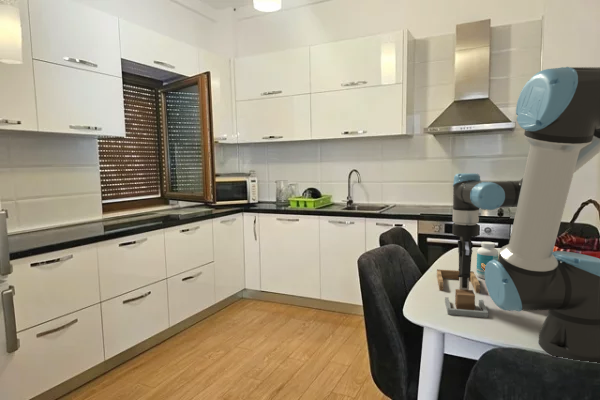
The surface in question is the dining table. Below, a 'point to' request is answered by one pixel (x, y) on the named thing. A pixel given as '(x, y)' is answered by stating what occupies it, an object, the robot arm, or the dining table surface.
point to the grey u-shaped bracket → (467, 312)
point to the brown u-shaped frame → (454, 275)
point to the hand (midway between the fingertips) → (463, 296)
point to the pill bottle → (485, 256)
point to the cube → (465, 299)
